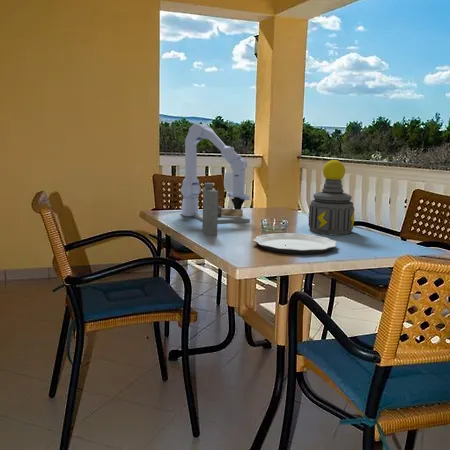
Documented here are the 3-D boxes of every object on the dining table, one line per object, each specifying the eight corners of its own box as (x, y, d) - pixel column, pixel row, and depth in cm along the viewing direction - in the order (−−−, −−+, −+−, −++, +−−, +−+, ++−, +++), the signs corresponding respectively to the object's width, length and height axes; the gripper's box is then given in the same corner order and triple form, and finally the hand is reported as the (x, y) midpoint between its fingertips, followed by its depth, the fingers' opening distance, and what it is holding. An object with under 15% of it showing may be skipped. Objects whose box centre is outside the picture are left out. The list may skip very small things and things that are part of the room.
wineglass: (219, 212, 264) (220, 171, 260) (235, 211, 268) (236, 171, 264) (226, 215, 256) (228, 172, 253) (242, 214, 260) (243, 172, 256)
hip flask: (217, 236, 202) (219, 184, 198) (207, 236, 201) (208, 184, 197) (209, 228, 217) (210, 181, 214) (199, 229, 216) (200, 181, 213)
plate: (271, 258, 168) (271, 251, 168) (243, 240, 196) (243, 234, 195) (351, 254, 176) (352, 247, 176) (313, 238, 204) (314, 232, 204)
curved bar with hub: (201, 215, 242) (201, 204, 241) (204, 213, 247) (205, 203, 246) (240, 217, 237) (241, 207, 236) (243, 216, 241) (243, 205, 240)
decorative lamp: (343, 237, 206) (348, 161, 201) (300, 231, 216) (304, 159, 211) (359, 230, 222) (364, 160, 216) (318, 225, 231) (321, 158, 226)
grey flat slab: (193, 216, 248) (193, 213, 248) (236, 215, 256) (236, 212, 255) (205, 223, 230) (205, 219, 230) (251, 222, 237) (251, 218, 237)
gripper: (222, 183, 243) (221, 212, 245) (241, 186, 231) (240, 216, 234) (234, 183, 247) (233, 211, 249) (253, 185, 235) (252, 215, 238)
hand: (237, 213), depth 242 cm, fingers closed, pressing on curved bar with hub
